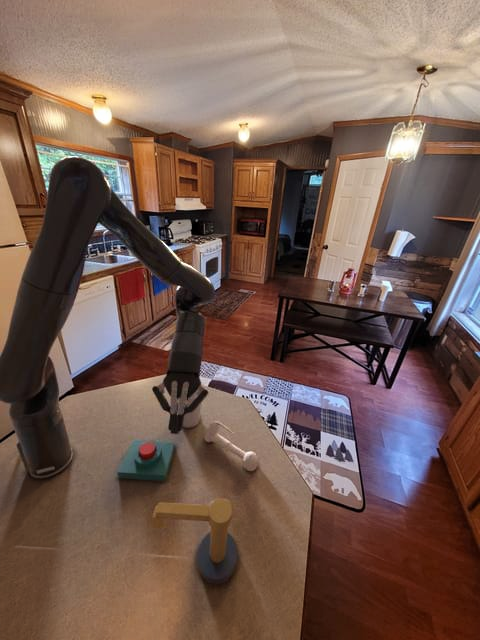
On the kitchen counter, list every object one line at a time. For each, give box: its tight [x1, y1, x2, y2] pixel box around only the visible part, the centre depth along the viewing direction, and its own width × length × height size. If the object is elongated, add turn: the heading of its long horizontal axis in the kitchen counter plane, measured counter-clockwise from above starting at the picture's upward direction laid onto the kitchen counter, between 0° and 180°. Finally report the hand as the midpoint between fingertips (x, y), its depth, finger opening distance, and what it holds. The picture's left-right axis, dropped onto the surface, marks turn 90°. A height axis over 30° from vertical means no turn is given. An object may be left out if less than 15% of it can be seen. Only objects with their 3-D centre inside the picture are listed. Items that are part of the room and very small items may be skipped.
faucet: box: [203, 420, 259, 472], centre depth 73 cm, size 4×18×10 cm, turn 56°
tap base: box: [196, 526, 238, 586], centre depth 49 cm, size 8×8×13 cm
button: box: [139, 442, 156, 459], centre depth 68 cm, size 4×4×2 cm
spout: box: [152, 497, 233, 531], centre depth 46 cm, size 14×4×5 cm, turn 89°
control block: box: [117, 439, 176, 482], centre depth 69 cm, size 12×10×4 cm
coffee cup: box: [178, 379, 206, 429], centre depth 81 cm, size 10×10×15 cm
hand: (174, 433), depth 54 cm, fingers closed
